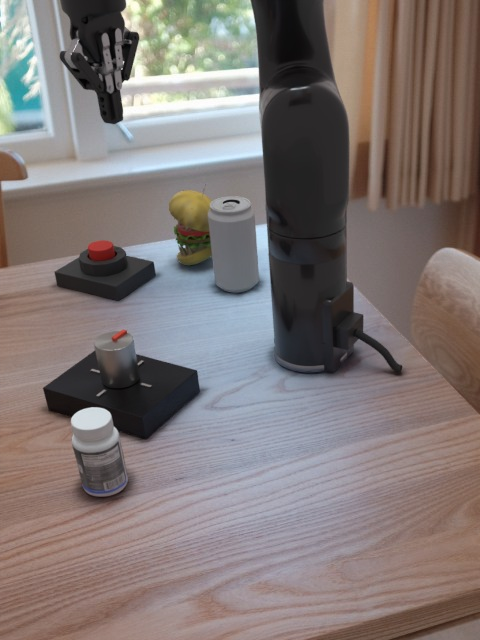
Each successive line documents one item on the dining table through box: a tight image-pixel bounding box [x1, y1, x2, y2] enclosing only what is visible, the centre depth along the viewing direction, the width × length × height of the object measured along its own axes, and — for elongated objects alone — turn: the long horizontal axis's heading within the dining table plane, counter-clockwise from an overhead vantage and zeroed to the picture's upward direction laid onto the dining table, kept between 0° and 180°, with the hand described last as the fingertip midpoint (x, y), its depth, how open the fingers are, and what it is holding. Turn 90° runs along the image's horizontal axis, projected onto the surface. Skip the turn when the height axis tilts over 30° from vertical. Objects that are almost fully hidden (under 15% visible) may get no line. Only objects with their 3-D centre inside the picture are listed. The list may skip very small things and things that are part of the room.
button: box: [87, 239, 115, 261], centre depth 130 cm, size 4×4×2 cm
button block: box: [54, 245, 157, 302], centre depth 131 cm, size 11×9×4 cm
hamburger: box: [168, 183, 213, 266], centre depth 133 cm, size 8×7×12 cm
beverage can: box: [208, 195, 260, 294], centre depth 127 cm, size 6×6×12 cm
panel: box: [42, 350, 201, 440], centre depth 107 cm, size 14×11×3 cm
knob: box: [93, 329, 140, 388], centre depth 104 cm, size 4×4×5 cm
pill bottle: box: [70, 407, 129, 498], centre depth 93 cm, size 5×5×8 cm
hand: (113, 121), depth 116 cm, fingers closed
